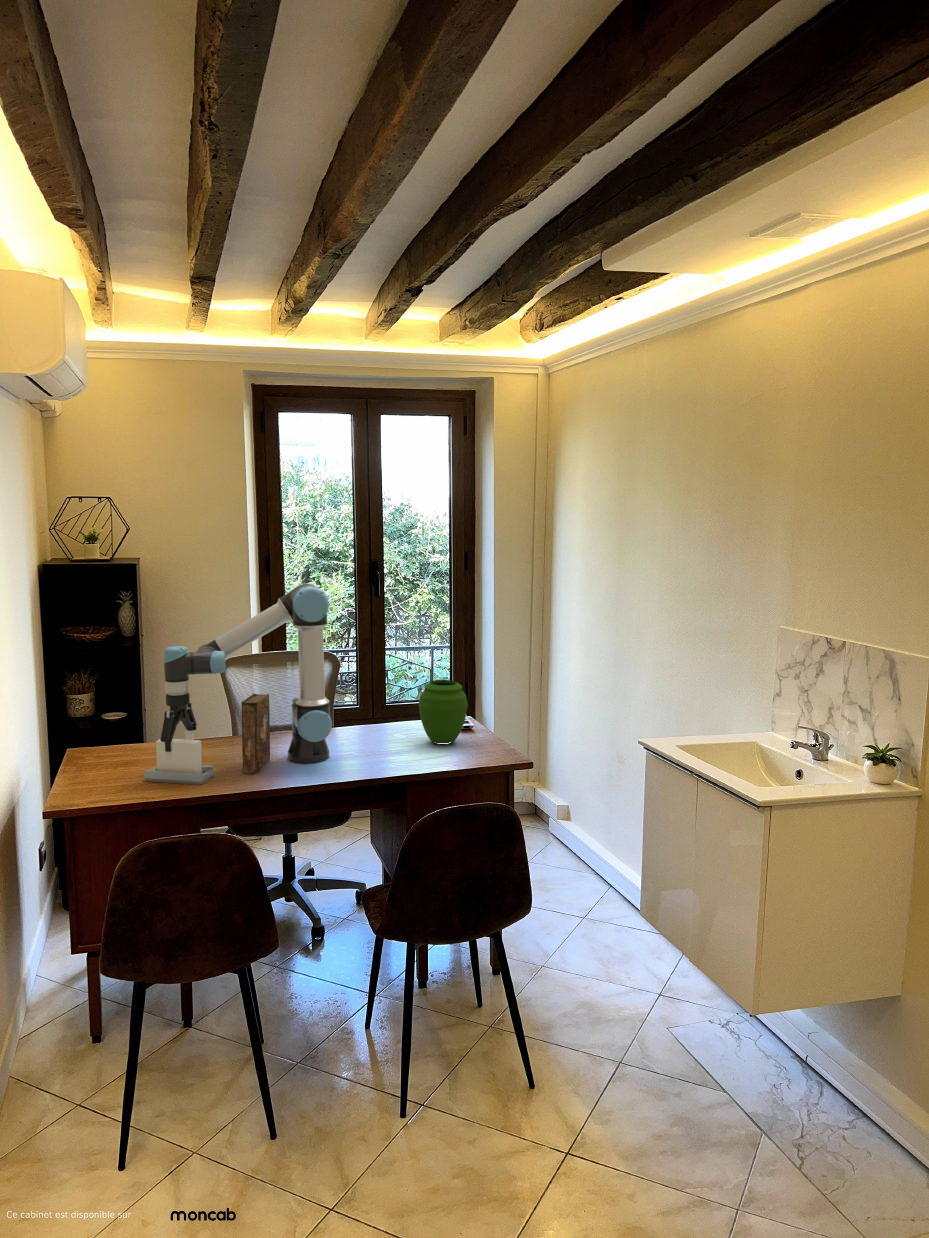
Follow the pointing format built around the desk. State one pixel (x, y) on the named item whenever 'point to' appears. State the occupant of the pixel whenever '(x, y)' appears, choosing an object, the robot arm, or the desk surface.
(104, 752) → the desk surface
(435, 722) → the vase
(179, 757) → the door
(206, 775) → the track
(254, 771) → the book
